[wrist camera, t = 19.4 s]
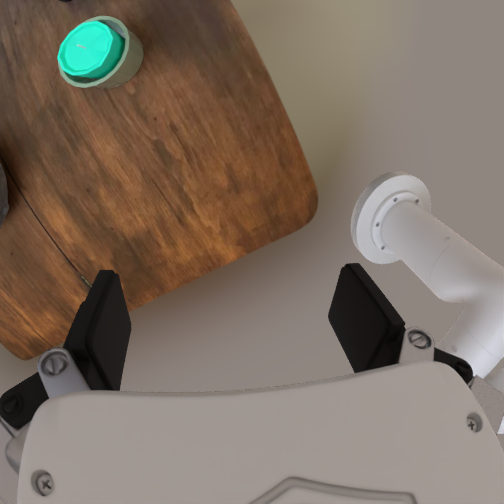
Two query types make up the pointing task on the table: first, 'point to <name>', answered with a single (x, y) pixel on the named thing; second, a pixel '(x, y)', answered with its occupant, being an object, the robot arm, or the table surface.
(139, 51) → the tin
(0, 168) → the bowl
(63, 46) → the candle
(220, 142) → the table surface
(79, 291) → the table surface
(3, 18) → the table surface
